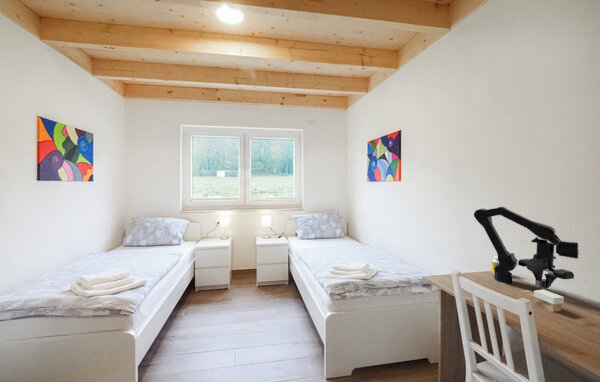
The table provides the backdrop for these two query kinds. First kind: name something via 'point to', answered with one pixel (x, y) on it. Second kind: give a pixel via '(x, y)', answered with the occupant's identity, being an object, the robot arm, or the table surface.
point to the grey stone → (541, 284)
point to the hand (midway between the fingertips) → (543, 286)
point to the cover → (548, 296)
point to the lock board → (544, 303)
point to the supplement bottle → (494, 264)
